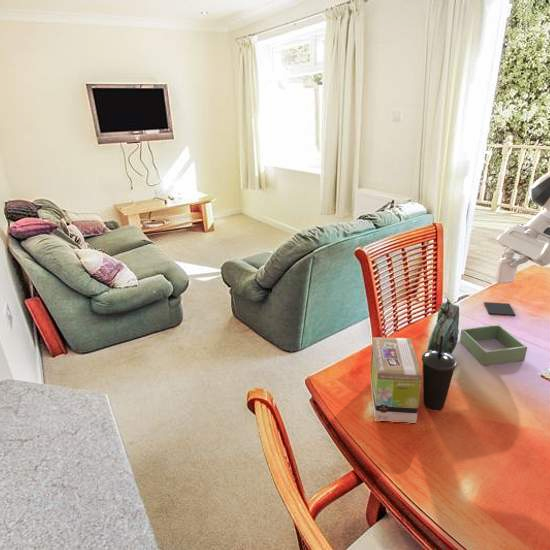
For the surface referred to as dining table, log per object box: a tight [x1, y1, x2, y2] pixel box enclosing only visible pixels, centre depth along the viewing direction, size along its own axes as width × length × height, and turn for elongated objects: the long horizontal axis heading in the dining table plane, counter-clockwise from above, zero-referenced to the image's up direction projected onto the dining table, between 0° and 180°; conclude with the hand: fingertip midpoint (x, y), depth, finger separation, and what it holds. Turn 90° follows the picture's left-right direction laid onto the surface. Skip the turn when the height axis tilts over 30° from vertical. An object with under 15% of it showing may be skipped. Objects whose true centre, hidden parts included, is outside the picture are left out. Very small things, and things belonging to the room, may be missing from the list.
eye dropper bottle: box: [494, 247, 518, 285], centre depth 121 cm, size 4×6×12 cm
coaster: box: [483, 301, 516, 317], centre depth 131 cm, size 8×8×1 cm
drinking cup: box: [421, 336, 458, 411], centre depth 90 cm, size 8×8×20 cm
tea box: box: [370, 336, 423, 424], centre depth 93 cm, size 15×10×15 cm, turn 171°
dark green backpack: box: [426, 297, 460, 355], centre depth 102 cm, size 20×6×20 cm, turn 146°
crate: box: [459, 324, 528, 366], centre depth 110 cm, size 12×12×4 cm
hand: (506, 263), depth 121 cm, fingers closed on eye dropper bottle, 3 cm apart
